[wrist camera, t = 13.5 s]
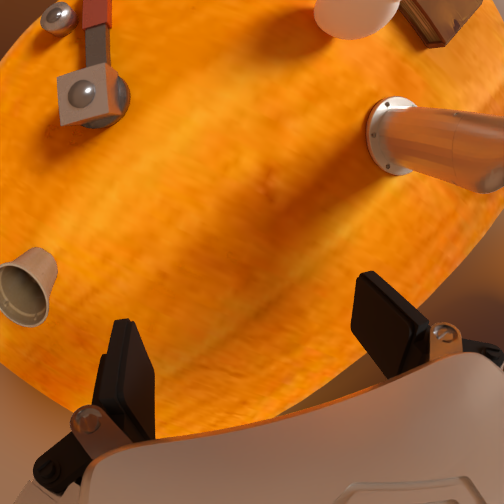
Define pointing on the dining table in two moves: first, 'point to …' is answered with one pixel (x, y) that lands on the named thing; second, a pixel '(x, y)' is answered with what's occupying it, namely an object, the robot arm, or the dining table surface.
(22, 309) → the flower pot
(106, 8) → the ratchet
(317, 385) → the dining table surface
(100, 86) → the socket
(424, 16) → the diary
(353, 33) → the white air blower bulb
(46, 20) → the socket
